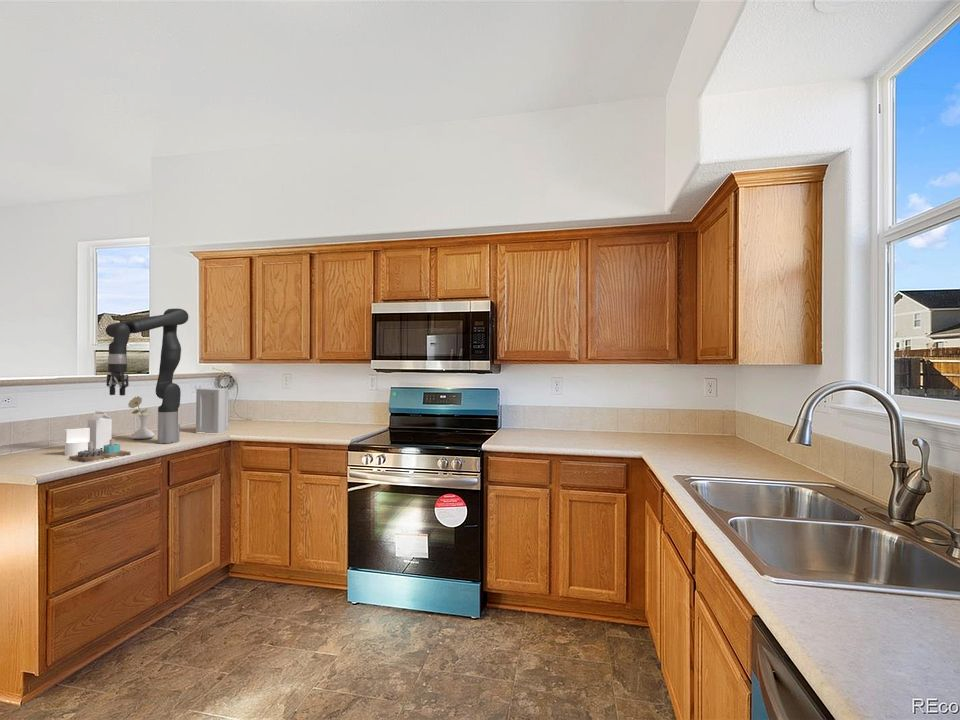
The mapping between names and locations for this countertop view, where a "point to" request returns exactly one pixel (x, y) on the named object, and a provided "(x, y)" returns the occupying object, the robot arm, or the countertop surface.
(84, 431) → the base with upright slab
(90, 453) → the gear board
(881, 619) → the countertop surface
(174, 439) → the robot arm
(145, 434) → the flower in vase
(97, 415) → the milk carton
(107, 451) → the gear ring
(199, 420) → the grey box
